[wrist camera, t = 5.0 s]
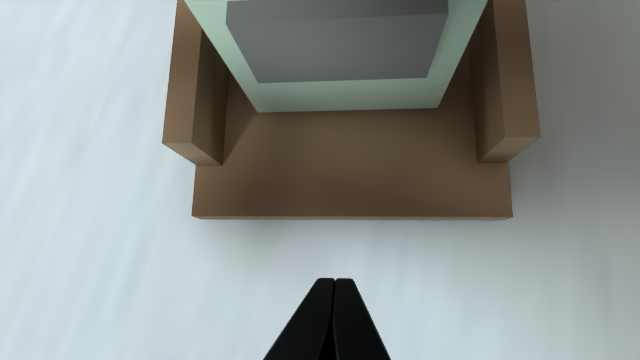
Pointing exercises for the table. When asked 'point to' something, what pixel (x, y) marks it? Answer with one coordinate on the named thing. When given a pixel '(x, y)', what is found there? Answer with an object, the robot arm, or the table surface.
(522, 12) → the brown open tray
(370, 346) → the robot arm
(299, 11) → the pale green block
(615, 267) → the table surface
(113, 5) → the table surface
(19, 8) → the table surface
